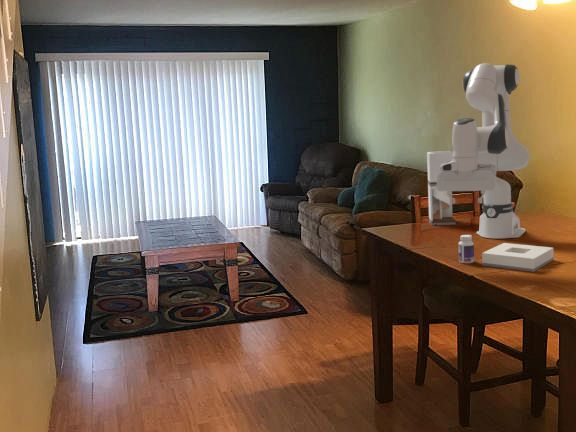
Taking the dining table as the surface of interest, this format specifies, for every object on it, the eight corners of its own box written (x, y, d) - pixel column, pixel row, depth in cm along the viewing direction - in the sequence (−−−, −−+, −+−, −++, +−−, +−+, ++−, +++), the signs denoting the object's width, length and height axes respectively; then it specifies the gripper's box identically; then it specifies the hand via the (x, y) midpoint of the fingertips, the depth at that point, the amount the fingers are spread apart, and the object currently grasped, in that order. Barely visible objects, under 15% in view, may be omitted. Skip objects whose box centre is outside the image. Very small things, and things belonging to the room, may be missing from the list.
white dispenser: (431, 225, 283) (429, 153, 278) (429, 221, 294) (426, 152, 288) (455, 224, 282) (453, 152, 276) (452, 220, 292) (450, 150, 287)
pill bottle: (476, 261, 213) (476, 235, 211) (470, 264, 209) (469, 237, 207) (462, 259, 216) (462, 233, 215) (456, 262, 212) (455, 236, 211)
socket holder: (503, 254, 219) (503, 242, 218) (553, 260, 206) (553, 247, 206) (482, 265, 206) (482, 253, 205) (533, 271, 194) (533, 258, 193)
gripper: (497, 162, 205) (497, 201, 207) (438, 165, 213) (439, 202, 216) (495, 164, 199) (496, 204, 202) (435, 166, 208) (436, 204, 210)
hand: (466, 203), depth 209 cm, fingers open, 8 cm apart
